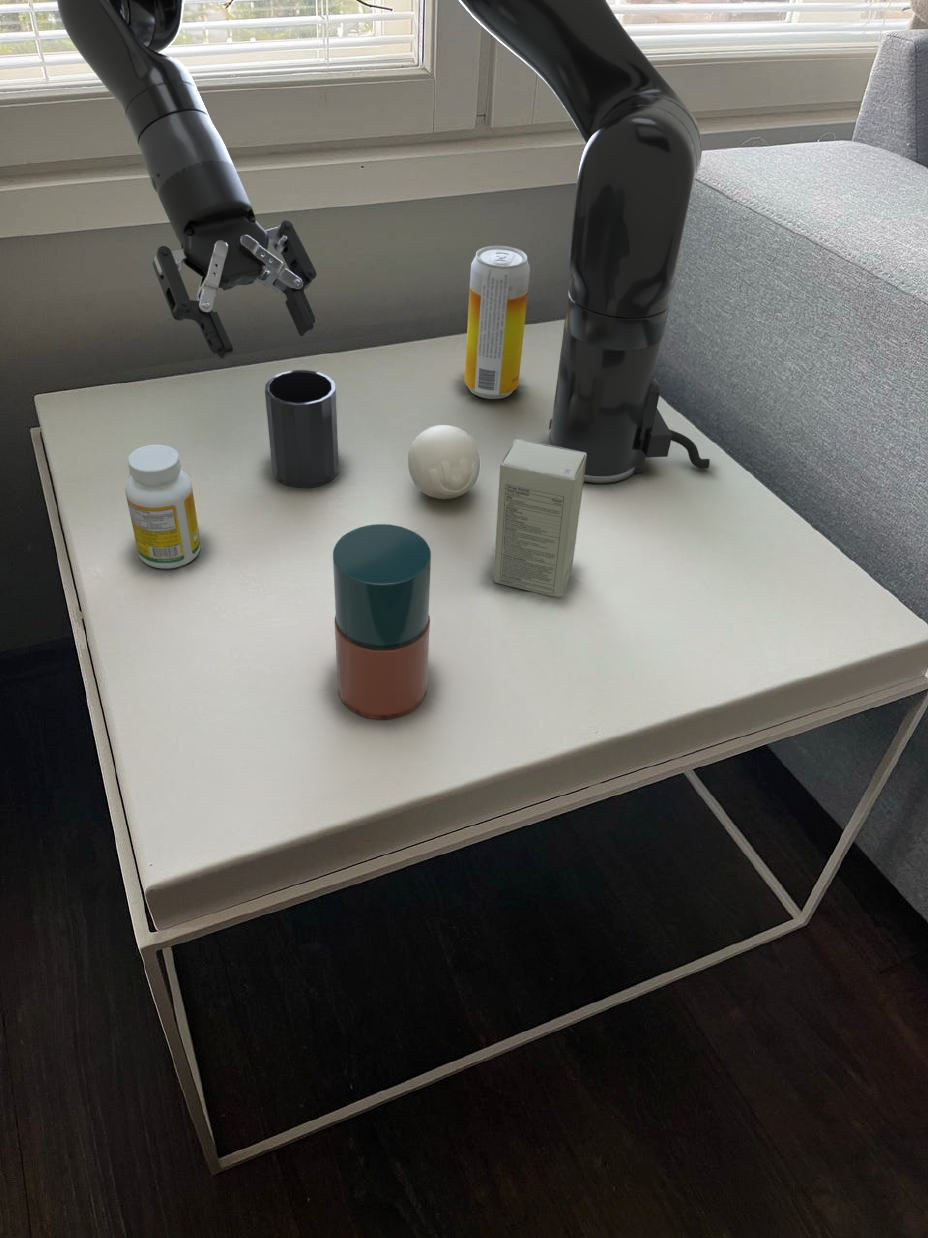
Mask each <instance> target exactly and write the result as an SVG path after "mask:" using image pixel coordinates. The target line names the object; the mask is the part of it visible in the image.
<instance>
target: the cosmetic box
mask: <svg viewBox="0 0 928 1238" xmlns="http://www.w3.org/2000/svg"><path fill="white" fill-rule="evenodd" d="M586 456H587V454H586V453H585V452H580V451H576V450H571V449H566V448H562V447H556V446H552V445H548V443H542V442H536V441H532V440H526V439H520V438H515V439H514V441H513V442H512V444H511V445H510V447H508V449H507V451H506V452H505V455H504V456H503V458H502V459H501V461H500V463H499V478H498V493H497V494H498V495H497V513H496V529H495V546H494V560H493V561H494V562H493V564H494V565H493V577H492V580H493V582H494V583H495V584H500V585H504V586H508V587H510V588H516V589H519V590H524V591H527V592H528V591H529V592H533V593H537V594H543V595H546V596H550V597H555V598H561V597H562V595H563V593H564V591H565V589H566V587H567V584H568V582H569V580H570V577H571V574H572V571H573V567H574V566H573V564H574V557H575V549H576V544H577V543H576V541H577V534H578V527H579V520H580V519H579V518H580V511H581V504H582V496H583V489H584V488H583V487H584V482H585V481H584V473H585V465H586Z"/></svg>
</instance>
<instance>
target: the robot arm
mask: <svg viewBox="0 0 928 1238" xmlns="http://www.w3.org/2000/svg"><path fill="white" fill-rule="evenodd" d="M458 1H459V2H460V4H461V5H462V6H463V7H464V8H465V10H466V11H467V12H468V13H469V14H470V15H471V16H472V18H473V19H475V21H477V22H478V23H479V24H480V26H482V28H484V29H485V30H486V31H487V32H488V33H489V34H491V35H492V36H493V37H494V38H495V39H496V40H497V41H498V42H500V43H501V44H502V45H503V46H505V47H506V48H507V49H508V50H509V51H511V52H512V53H513V54H514V55H515V56H517V58H519V59H520V60H522V62H524V64H526V65H527V66H528V67H530V68H531V69H532V70H533V71H534V72H535V73H536V74H537V75H538V76H539V77H540V79H542V80H543V81H544V82H545V83H546V84H547V86H548V87H549V88H550V90H552V92H553V93H554V95H555V97H557V99H558V100H559V102H560V103H561V105H562V106H563V108H564V109H565V111H566V113H567V114H568V116H569V117H570V119H571V121H572V122H573V124H574V125H575V127H576V129H577V131H578V132H579V134H580V136H581V138H582V139H583V141H584V143H585V144H586V145H585V147H584V150H583V153H582V155H581V160H580V164H579V167H578V169H579V170H578V173H577V180H576V181H577V182H576V188H575V197H574V205H573V206H574V207H573V215H572V223H571V224H572V225H571V232H570V233H571V234H570V242H569V251H568V254H569V255H568V268H569V285H568V291H567V301H566V308H565V313H564V314H565V316H564V322H563V323H564V324H563V331H562V337H561V346H560V354H559V362H558V368H557V369H558V370H557V377H556V385H555V393H554V400H553V408H552V415H551V419H549V424H548V425H549V426H548V430H550V431H549V435H548V442H547V445H552V446H556V447H562V448H566V449H571V450H576V451H580V452H585V453H586V454H587V456H586V465H585V473H584V481H583V482H587V483H594V484H608V483H609V484H610V483H614V482H619V481H622V480H625V479H627V478H629V477H630V476H633V474H640V473H641V474H642V473H644V470H645V466H646V462H647V461H646V460H647V458H667V457H668V456H669V451H670V448H671V443H672V442H674V443H677V444H679V445H680V446H682V447H683V448H684V449H685V450H686V451H687V454H688V458H689V460H690V463H691V464H692V465H693V466H694V467H696V468H698V469H701V470H702V469H703V470H705V469H709V468H710V462H711V461H710V458H701V457H700V454H699V450H698V446H697V445H696V443H695V442H693V441H692V439H690V438H689V437H687V436H686V435H684V434H682V433H680V432H677V431H676V430H672V429H670V427H668V424H667V423H666V421H665V420H664V417H663V416H662V414H661V412H660V410H659V409H658V404H659V400H660V395H661V394H660V393H661V386H660V384H659V382H658V380H657V379H656V375H657V370H658V366H659V365H658V364H659V361H660V356H661V349H662V345H663V341H664V336H665V330H666V325H667V320H668V316H669V311H670V305H671V302H672V296H673V291H674V288H675V283H676V272H677V265H678V259H679V254H680V250H681V245H682V239H683V236H684V235H683V234H684V231H685V226H686V220H687V215H688V210H689V205H690V202H691V201H690V200H691V196H692V192H693V188H694V184H695V181H696V178H697V175H698V173H699V170H700V166H701V163H702V154H703V143H702V142H703V141H702V134H701V131H700V128H699V124H698V122H697V120H696V118H695V116H694V114H693V113H692V111H691V110H690V108H689V107H688V105H687V104H686V103H685V102H684V100H683V99H682V98H681V97H680V96H679V95H678V94H677V92H676V91H675V90H674V89H673V88H672V86H671V85H670V84H669V83H668V82H667V81H666V79H665V78H664V76H662V74H661V73H660V72H659V71H658V70H657V68H656V67H655V65H653V64H652V62H651V61H650V60H649V59H648V57H647V56H646V55H645V53H643V51H642V50H641V49H640V47H639V46H638V45H637V43H636V42H635V41H634V40H633V39H632V38H631V36H630V35H629V33H628V32H627V31H626V29H625V28H624V27H623V25H622V24H621V22H620V21H619V19H618V18H617V17H616V14H615V13H614V12H613V10H612V8H611V7H610V5H609V4H608V2H607V0H458ZM56 4H57V10H58V13H59V16H60V19H61V22H62V25H63V28H64V29H65V32H66V33H67V35H68V37H69V39H70V41H71V43H72V44H73V46H74V47H75V48H76V50H77V51H78V53H79V54H80V55H81V57H82V59H84V61H85V62H86V64H87V65H88V66H89V67H90V68H91V70H92V71H93V72H94V74H95V75H96V77H97V78H98V79H99V80H100V81H101V83H102V84H103V86H104V87H105V88H106V89H107V91H108V92H109V93H110V94H111V96H112V97H113V98H114V99H115V100H116V102H117V103H118V104H119V105H120V107H121V109H122V111H123V114H124V116H125V119H126V120H127V123H128V125H129V127H130V129H131V132H132V134H133V136H134V138H135V141H136V142H137V145H138V147H139V150H140V152H141V156H142V159H143V162H144V166H145V169H146V172H147V175H148V176H149V178H150V183H151V186H152V188H153V190H154V191H155V192H156V195H157V196H158V199H159V201H160V203H161V206H162V208H163V210H164V213H165V214H166V216H167V218H168V221H169V224H170V226H171V227H172V230H173V232H174V234H175V237H176V239H177V240H178V241H179V243H180V248H176V249H170V248H169V247H168V246H165V245H161V246H159V247H158V248H157V251H156V253H155V256H154V258H153V260H152V267H153V269H154V272H155V274H156V277H157V280H158V282H159V286H160V288H161V290H162V292H163V295H164V299H165V301H166V303H167V305H168V308H169V310H170V313H171V316H172V317H173V319H174V320H176V321H179V322H181V321H184V320H191V321H194V322H196V323H197V325H198V326H199V329H200V331H201V333H202V335H203V337H204V339H205V342H206V344H207V347H208V348H209V351H211V352H212V353H213V355H216V354H217V355H218V357H219V358H220V360H221V359H226V358H229V357H231V354H232V353H233V351H234V348H233V345H232V342H231V340H230V337H229V335H228V333H227V331H226V329H225V327H224V324H223V322H222V320H221V318H220V316H219V315H220V314H219V312H218V311H213V308H214V304H215V299H216V296H217V292H218V289H222V290H223V291H228V290H231V289H233V288H235V287H237V286H248V285H253V284H254V283H255V281H256V282H258V283H260V284H261V285H262V286H264V287H265V288H267V289H272V290H274V291H275V292H277V293H278V294H280V295H281V296H282V297H284V298H285V299H286V300H285V301H284V302H285V306H286V308H287V311H288V313H289V315H290V317H291V319H292V321H293V324H294V326H295V328H296V330H297V333H298V335H299V336H300V337H305V336H309V335H310V334H311V333H312V331H313V330H314V324H315V323H316V316H315V314H314V311H313V309H312V306H311V304H310V303H309V300H308V298H307V296H306V293H305V290H307V289H308V288H309V286H310V284H311V283H312V282H313V281H314V280H315V279H316V277H317V275H318V272H317V270H316V269H315V266H314V264H313V263H312V261H311V258H310V257H309V254H308V252H307V251H306V248H305V246H304V244H303V242H302V241H301V239H300V236H299V234H298V232H297V231H296V228H295V226H294V224H293V223H292V221H290V220H287V219H285V220H282V221H281V223H280V224H279V225H278V226H275V227H273V228H272V227H271V228H269V229H266V230H265V229H264V227H262V225H260V223H258V221H257V219H256V216H255V212H254V209H253V205H252V203H251V202H250V199H249V197H248V195H247V192H246V190H245V188H244V185H243V183H242V181H241V179H240V176H239V174H238V172H237V170H236V168H235V165H234V163H233V160H232V157H231V156H230V154H229V151H228V149H227V147H226V145H225V143H224V140H223V139H222V137H221V135H220V134H219V132H218V130H217V129H216V127H215V125H214V124H213V121H212V120H211V118H210V115H209V113H208V111H207V108H206V107H205V104H204V102H203V100H202V97H201V95H200V93H199V90H198V88H197V86H196V83H195V82H194V79H193V77H192V75H191V74H190V72H189V70H188V69H187V67H186V66H185V65H184V64H183V63H181V62H180V61H179V60H178V59H175V58H173V57H170V56H169V55H165V54H163V53H162V52H163V51H165V50H166V49H167V48H169V47H170V46H171V45H172V44H173V43H174V41H175V40H176V38H177V37H178V35H179V33H180V29H181V26H182V22H183V13H184V5H185V0H56ZM269 245H271V246H272V247H273V248H274V251H275V252H276V253H280V254H281V256H282V258H283V260H284V262H285V264H286V266H287V267H286V266H285V264H284V262H283V261H282V260H280V259H279V258H278V257H277V256H276V255H274V254H272V253H271V252H270V251H268V248H269ZM183 264H184V265H185V266H187V268H189V269H190V270H192V271H193V272H194V273H196V274H197V275H199V276H200V277H201V278H200V282H199V285H198V286H199V287H198V289H197V294H196V300H193V299H190V297H189V294H188V291H187V289H186V286H185V283H184V281H183V278H182V276H181V272H182V270H183ZM264 268H266V269H268V270H266V269H264Z"/></svg>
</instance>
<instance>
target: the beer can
mask: <svg viewBox="0 0 928 1238" xmlns="http://www.w3.org/2000/svg"><path fill="white" fill-rule="evenodd" d="M530 274H531V266H530V263H529V261H528V255H527V254H526V253H525V252H524V251H522V250H521V249H519V248H517V247H512V246H506V245H488V246H484V247H481V248H479V249H478V250H477V251H476V252H475V256H474V258H473V259H472V262H471V264H470V279H469V292H468V293H469V295H468V311H467V326H466V329H467V330H466V344H465V345H466V346H465V362H464V377H463V379H464V384H465V385H466V387H468V389H469V391H470V392H471V393H472V394H474V395H475V396H476V397H479V398H483V399H488V400H497V399H504V398H507V397H509V396H510V395H511V394H512V393H513V391H514V390H516V389H517V388H518V386H519V383H520V372H521V363H522V354H523V353H522V352H523V345H524V343H523V342H524V333H525V324H526V323H525V322H526V314H527V313H526V312H527V304H528V295H529V293H528V292H529V286H530V285H529V284H530Z"/></svg>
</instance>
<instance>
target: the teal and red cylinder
mask: <svg viewBox="0 0 928 1238" xmlns="http://www.w3.org/2000/svg"><path fill="white" fill-rule="evenodd" d="M431 551H432V550H431V548H430V546H429V544H428V542H427V541H426V539H425V538H423V537H422V535H420V534H418V533H417V532H416V531H414V530H412V529H409V528H407V527H404V526H401V525H398V524H397V525H396V524H391V523H390V524H389V523H375V524H368V525H363V526H359V527H356V528H354V529H352V530H350V531H348V532H346V533H345V534H343V535H342V536H341V537H340V538H339V539H338V540H337V542H336V543H335V545H334V547H333V550H332V566H333V567H332V568H333V588H334V589H333V590H334V606H335V607H334V608H335V609H334V610H335V615H334V638H335V657H336V658H335V659H336V661H335V662H336V679H337V680H336V681H337V692H338V695H339V698H340V700H341V702H342V703H343V704H344V705H345V706H346V707H347V709H349V710H350V711H352V712H353V713H355V714H357V715H359V716H361V717H364V718H368V719H371V720H372V719H373V720H391V719H396V718H397V719H398V718H400V717H403V716H405V715H407V714H410V713H411V712H413V711H414V710H416V709H417V708H418V707H419V706H420V704H422V703H423V702H424V699H425V698H426V695H427V693H428V681H429V680H428V679H429V655H430V654H429V652H430V632H431V631H430V628H431V619H430V593H431V591H430V590H431V571H432V570H431V568H432V567H431V566H432V565H431V564H432V552H431Z"/></svg>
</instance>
